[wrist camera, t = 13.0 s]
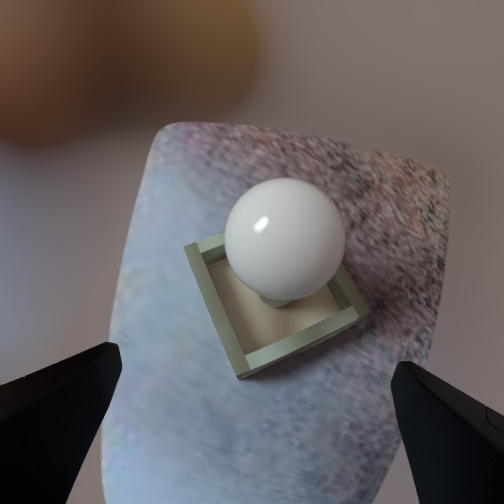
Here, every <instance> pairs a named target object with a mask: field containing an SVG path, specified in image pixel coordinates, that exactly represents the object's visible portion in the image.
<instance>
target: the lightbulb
mask: <svg viewBox="0 0 504 504" xmlns="http://www.w3.org/2000/svg"><path fill="white" fill-rule="evenodd" d="M224 246H225V252H226V256H227V259H228V262H229V264H230V266H231V268H232V270H233V271H234V273H235V274H236V276H237V277H238V278H239V279H240V281H241V282H242V283H243V284H245V285H246V286H247V287H248V288H249V289H251V290H252V291H254V292H256V293H258V295H259V297H260V299H261V300H262V301H263V302H264V303H265V304H267V305H269V306H272V307H280V306H283V305H285V304H287V303H288V302H289V301H290V300H294V299H299V298H303V297H306V296H308V295H311V294H313V293H315V292H316V291H318V290H319V289H321V288H322V287H323V286H325V285H326V284H327V283H328V282H329V281H330V280H331V279H332V277H333V276H334V275H335V273H336V272H337V270H338V269H339V267H340V265H341V262H342V260H343V256H344V253H345V247H346V231H345V225H344V222H343V218H342V216H341V213H340V211H339V209H338V208H337V206H336V204H335V203H334V202H333V200H332V199H331V198H330V197H329V196H328V195H327V194H326V193H325V192H324V191H322V190H321V189H320V188H318V187H317V186H315V185H313V184H311V183H309V182H306V181H303V180H300V179H295V178H275V179H270V180H267V181H264V182H261V183H259V184H257V185H255V186H253V187H252V188H250V189H249V190H248V191H246V192H245V193H244V194H243V195H242V196H241V197H240V198H239V199H238V200H237V202H236V203H235V205H234V206H233V208H232V210H231V212H230V214H229V216H228V219H227V222H226V226H225V232H224Z"/></svg>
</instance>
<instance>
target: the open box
mask: <svg viewBox="0 0 504 504" xmlns="http://www.w3.org/2000/svg"><path fill="white" fill-rule="evenodd" d="M224 232H225V231H224ZM224 232H221V233H219V234H216V235H213V236H211V237H208V238H205V239H203V240H200V241H197V242H195V243H192V244H190V245H187V246H184V249H185V252H186V255H187V257H188V260H189V263H190V265H191V268H192V270H193V273H194V276H195V278H196V281H197V283H198V286H199V288H200V291H201V294H202V296H203V299H204V301H205V304H206V306H207V308H208V311H209V313H210V316H211V318H212V321H213V323H214V325H215V328H216V330H217V333H218V335H219V337H220V340H221V342H222V344H223V347H224V349H225V351H226V354H227V356H228V358H229V361H230V363H231V365H232V367H233V370H234V372H235V374H236V376H237V378H238V380H240V379H242V378H245V377H247V376H249V375H252V374H254V373H256V372H259V371H261V370H263V369H266V368H268V367H270V366H272V365H275V364H277V363H279V362H281V361H284V360H286V359H288V358H290V357H292V356H294V355H296V354H299V353H301V352H303V351H305V350H307V349H309V348H311V347H313V346H315V345H317V344H319V343H321V342H323V341H325V340H327V339H329V338H331V337H333V336H335V335H337V334H339V333H341V332H342V331H344V330H346V329H348V328H350V327H352V326H354V325H356V324H357V323H359V322H360V321H361V320H362V319H363V318H364V317H365V316H366V315H367V314H368V313H370V312H371V311H370V309H369V307H368V306H367V304H366V302H365V301H364V299H363V297H362V295H361V294H360V292H359V290H358V288H357V287H356V285H355V283H354V282H353V280H352V278H351V277H350V275H349V273H348V272H347V270H346V268H345V267H344V265H343V263H342V262H341V265H340V267H339V269H338V270H337V272H336V273H335V275H334V276H333V277H332V279H331V280H330V281H329V282H328V283H327V284H326V285H325V286H323V287H322V288H321V289H319V290H318V291H316V292H315V293H313V294H311V295H308V296H306V297H303V298H299V299H294V300H290V301H289V302H288V303H287V304H285V305H283V306H280V307H272V306H269V305H267V304H265V303H264V302H263V301H262V300H261V299H260V297H259V295H258V293H256V292H254V291H252V290H251V289H249V288H248V287H247V286H246V285H245V284H243V283H242V282H241V281H240V279H239V278H238V277H237V276H236V274H235V273H234V271H233V270H232V268H231V266H230V264H229V262H228V259H227V256H226V252H225V246H224Z"/></svg>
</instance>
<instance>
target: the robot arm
mask: <svg viewBox="0 0 504 504" xmlns="http://www.w3.org/2000/svg"><path fill="white" fill-rule="evenodd" d="M121 371H122V361H121V356H120V351H119V347H118V345H117V344H116V343H111V342H104V343H102V344H99V345H97V346H95V347H93V348H90V349H88V350H86V351H83V352H81V353H79V354H76V355H74V356H71V357H69V358H67V359H65V360H62V361H60V362H57V363H55V364H52V365H50V366H48V367H45V368H43V369H40V370H38V371H36V372H33V373H31V374H28V375H26V376H25V377H21V378H19V379H16V380H14V381H11V382H8V383H6V384H3V385H0V504H66V502H67V499H68V496H69V494H70V492H71V490H72V487H73V484H74V482H75V480H76V478H77V475H78V473H79V471H80V468H81V466H82V464H83V462H84V459H85V457H86V455H87V453H88V450H89V448H90V446H91V444H92V442H93V439H94V437H95V435H96V433H97V430H98V429H99V427H100V424H101V422H102V420H103V418H104V416H105V414H106V412H107V410H108V407H109V405H110V402H111V400H112V397H113V394H114V391H115V388H116V385H117V382H118V379H119V377H120V374H121ZM391 391H392V396H393V401H394V406H395V411H396V417H397V422H398V426H399V430H400V433H401V436H402V440H403V443H404V446H405V450H406V453H407V457H408V460H409V464H410V468H411V471H412V475H413V479H414V483H415V486H416V491H417V495H418V499H419V503H420V504H504V416H503V415H501V414H500V413H498V412H496V411H494V410H493V409H491V408H489V407H487V406H485V405H484V404H482V403H480V402H479V401H477V400H475V399H474V398H472V397H470V396H469V395H467V394H465V393H464V392H462V391H460V390H458V389H457V388H455V387H453V386H452V385H450V384H448V383H447V382H445V381H443V380H441V379H440V378H438V377H437V376H435V375H433V374H431V373H430V372H428V371H426V370H425V369H423V368H421V367H420V366H418V365H416V364H415V363H413V362H411V361H401V362H399V363H398V364H397V366H396V369H395V372H394V375H393V378H392V381H391Z"/></svg>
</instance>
